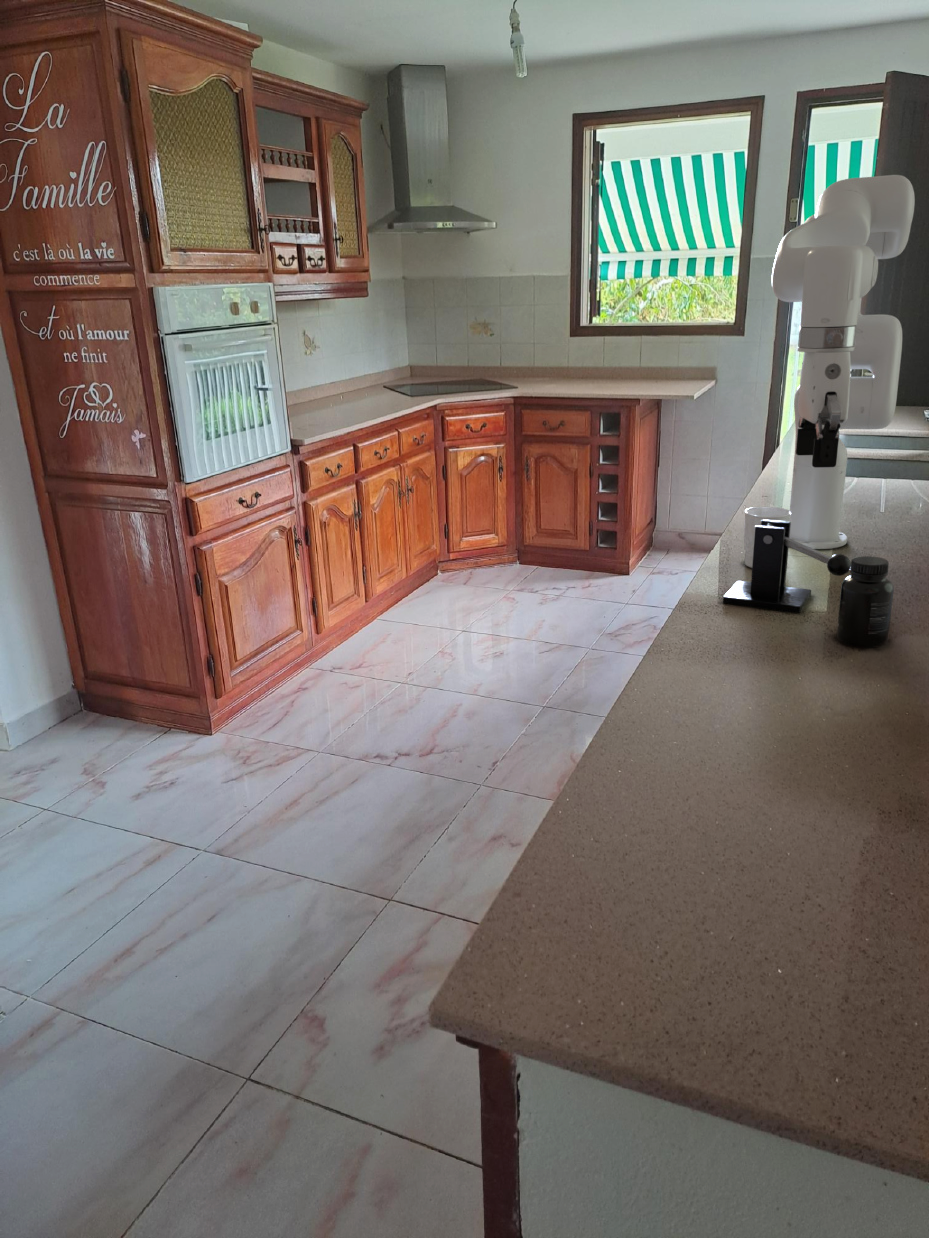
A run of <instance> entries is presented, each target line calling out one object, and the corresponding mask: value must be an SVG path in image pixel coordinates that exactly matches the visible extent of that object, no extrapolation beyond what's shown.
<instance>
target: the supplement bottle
mask: <svg viewBox="0 0 929 1238" xmlns="http://www.w3.org/2000/svg"><path fill="white" fill-rule="evenodd" d="M850 562H851V567H850V570H849V575H848V576H846V577H844V579H843V580H842V582H841V586H840V593H839V594H840V595H839V606H838V615H837V626H836V627H837V628H836V637H837V639H838V641H840V642H841V643H843V644H845V645H847V646H851V647H855V648H861V649H862V648H863V649H869V648H870V649H872V648H873V649H874V648H879V647H882V646H884V645H886V644H887V643H888V641H889V635H890V628H891V627H890V626H891V619H892V611H893V609H892V608H893V601H894V591H895V586H894V583H893V582H892V581H891V580H890V579H889V578H888V577H887V576H888V575H889V564H890V563H889V561H888V560H887V559H886V558H883V557H880V556H870V555H864V556H863V555H862V556H855V557H853V558H851V560H850Z"/></svg>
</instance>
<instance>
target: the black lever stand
mask: <svg viewBox="0 0 929 1238" xmlns="http://www.w3.org/2000/svg"><path fill="white" fill-rule="evenodd" d="M768 524H772V525H774V526H776V527H771V526H767V525H768ZM790 526H791V522H788V521H777V520H765V519H763V520H762V521H761V526H760V525H757V526H756V527H755V538H754V551H753V565H752V568H751V580H750V581H745V580H743V581H742V580H737V581H736V582H735V583H734V584H733V585H732V586H731V588H729V590H728V591H727V592H726V593H725V594H724V595H723V596H722V604H725V605H726V604H727V605H732V606H741V607H747V608H755V609H761V610H769V611H778V612H785V613H791V614H792V613H793V614H798V615H799V614H801V612H802V611H803V609H804V607H805V606H806V604H807V603H808V601H809V600H810V598H811V597H812V589H810V588H809V589H808V588H802V587H793V586H792V587H791V586H786V581H787V572H788V571H787V570H788V559H789V549H790V547H788V546H786V545H784V538H785V537H788V538H790Z"/></svg>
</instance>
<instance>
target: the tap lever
mask: <svg viewBox="0 0 929 1238" xmlns="http://www.w3.org/2000/svg"><path fill="white" fill-rule="evenodd" d="M767 526H771V527H776V526H774V525H772V524H768V525H767ZM784 545H786V546H788V547H789V549H793V550H794V551H797V552H799V553H801V554H804V555H805V556H808V557H810V558H813V559H814V560H817V561H819V562H821V563H823V564H826V568H827V570H828V572H829V573H830V574H831V575H833V576H836V577H841V576H844V575H846V574H848V572H850V568H851V560H850V558H849V557H848V556H847V555H846V554H842V553H837V554H833V555H832V556H830V555H827V554H826V553H824V552H821V551H819V550H818V549H812V548H810V547H808V546H805V545H803V544H801V543H799V542H797V541H794V540H792V539H790V538H788V537H785V538H784Z"/></svg>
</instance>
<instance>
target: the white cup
mask: <svg viewBox="0 0 929 1238" xmlns="http://www.w3.org/2000/svg"><path fill="white" fill-rule="evenodd" d="M790 516H791V512H790V509H786V508H784V507H778V506H753V507H749V508H746V509H745V510H744V529H743V531H744V532H743V534H744V535H743V542H744V543H743V544H744V547H743V549H744V565H745V566H746V567H748V568H751V569H752V565H753V551H754V538H755V527H756V526H757V525H760V526H761V521H762V520H763V519H765V520H777V521H788V522H790Z"/></svg>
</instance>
